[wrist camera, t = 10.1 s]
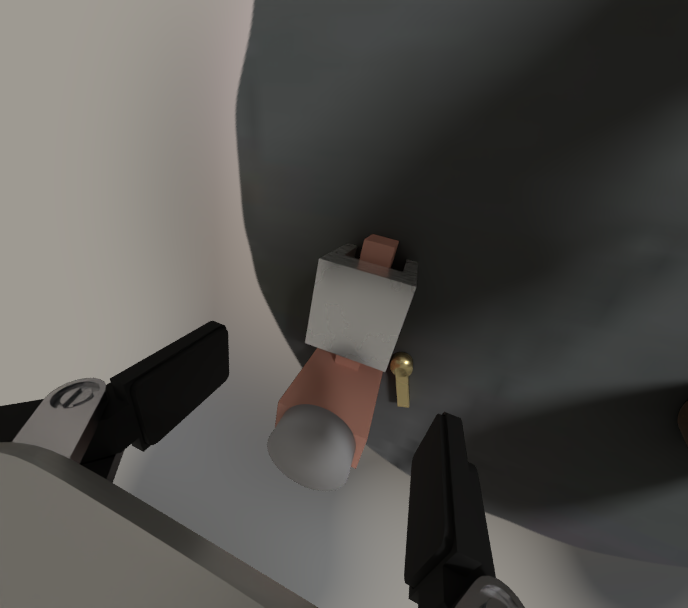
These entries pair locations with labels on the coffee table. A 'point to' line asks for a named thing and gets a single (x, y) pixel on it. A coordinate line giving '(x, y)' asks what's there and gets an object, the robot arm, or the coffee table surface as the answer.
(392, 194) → the coffee table surface
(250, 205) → the coffee table surface
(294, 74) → the coffee table surface
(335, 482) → the brown mallet
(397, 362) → the brass key
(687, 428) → the plant pot
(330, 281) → the block
